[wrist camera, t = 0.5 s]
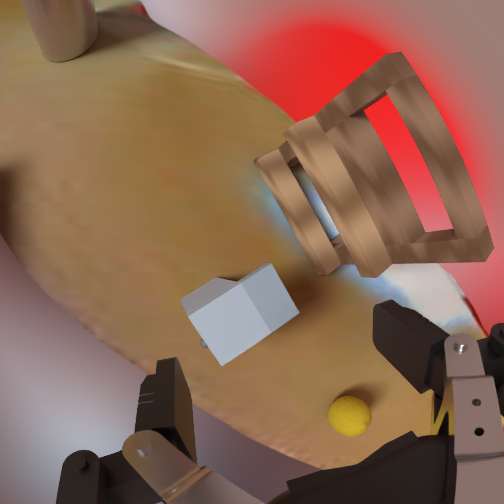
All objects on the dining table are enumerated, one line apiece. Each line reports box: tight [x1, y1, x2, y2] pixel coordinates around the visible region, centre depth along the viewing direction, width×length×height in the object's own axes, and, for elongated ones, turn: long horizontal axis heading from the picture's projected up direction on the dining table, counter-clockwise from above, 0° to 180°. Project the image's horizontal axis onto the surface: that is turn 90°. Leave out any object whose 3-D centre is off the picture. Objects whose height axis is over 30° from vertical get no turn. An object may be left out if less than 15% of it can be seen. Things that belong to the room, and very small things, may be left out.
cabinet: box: [180, 263, 299, 366], centre depth 30 cm, size 5×9×12 cm, turn 121°
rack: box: [254, 52, 494, 278], centre depth 28 cm, size 17×6×24 cm, turn 31°
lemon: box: [328, 396, 372, 436], centre depth 36 cm, size 6×6×8 cm
